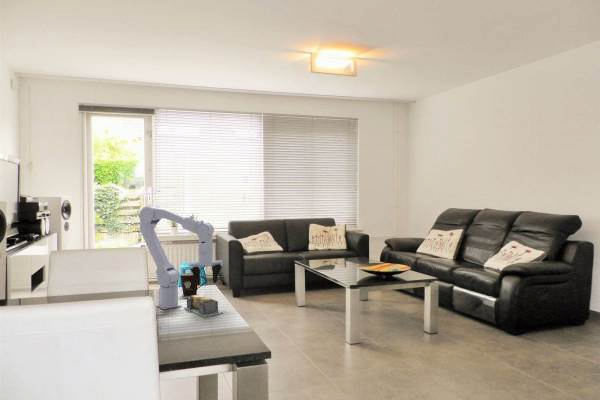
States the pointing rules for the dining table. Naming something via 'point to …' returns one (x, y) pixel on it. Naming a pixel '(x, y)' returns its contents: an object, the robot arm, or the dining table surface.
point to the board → (202, 314)
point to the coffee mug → (189, 284)
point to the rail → (200, 300)
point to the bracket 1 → (190, 303)
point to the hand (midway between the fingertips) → (206, 283)
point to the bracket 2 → (208, 307)
